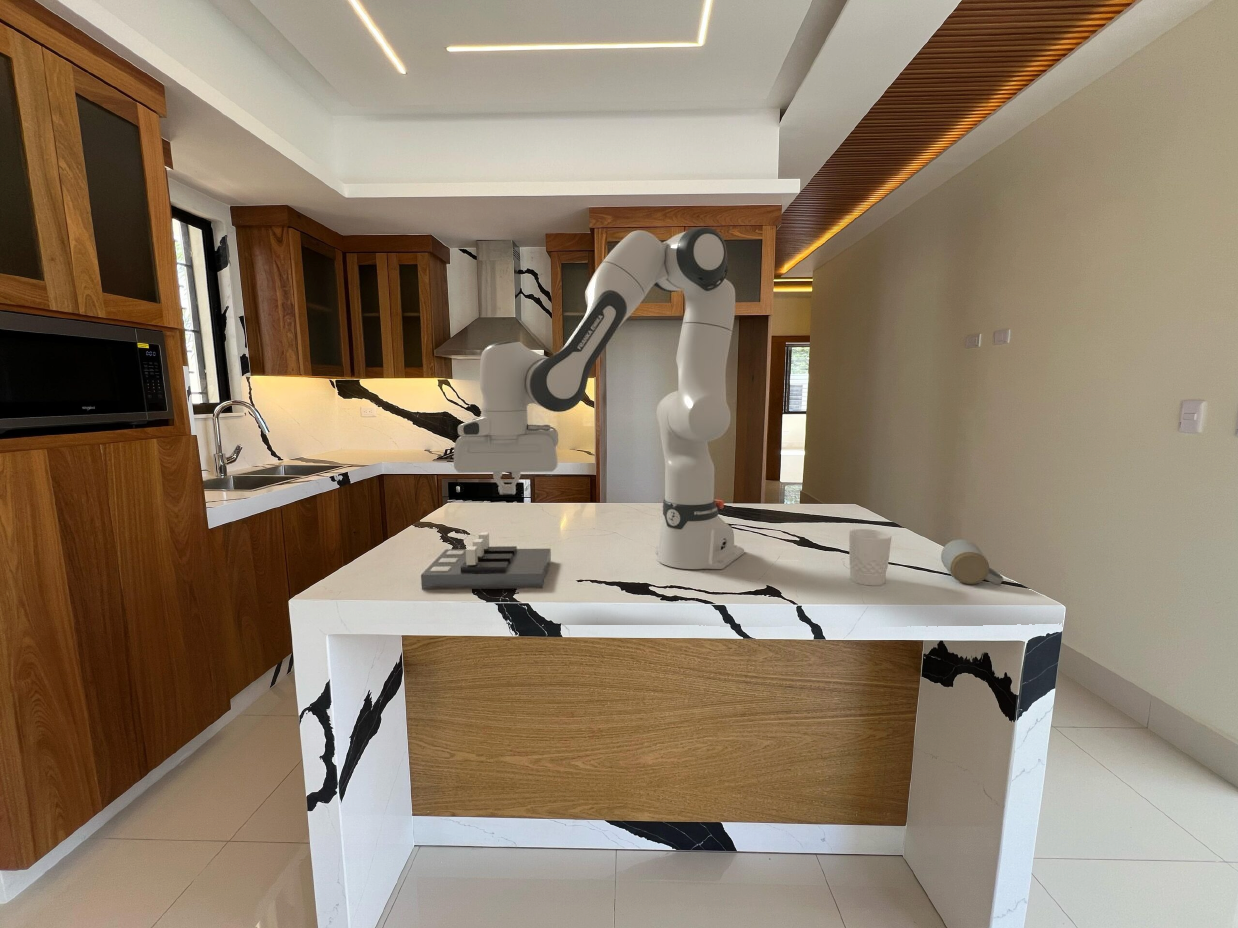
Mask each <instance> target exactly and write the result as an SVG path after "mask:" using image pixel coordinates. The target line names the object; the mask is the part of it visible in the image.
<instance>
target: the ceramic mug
mask: <svg viewBox="0 0 1238 928" xmlns="http://www.w3.org/2000/svg"><path fill="white" fill-rule="evenodd" d="M940 559H941V563H942V564H943V566H944V568H945V570H946V571H947V572H949V574H950V576H952V577H953V579H954V580H956V581H957V582H960V583H962V584H965V585H976V584H979V583H981V582H983V581H984V580H985V581H987V582H990V583H992V584H995V585H997V586H999V585H1001V583H1002V582H1003V581H1004V576H1003V575H1001V573H999V572H997V571H996V570H994V569H993V568H991V567H990V564H989V561H988V559H987V557H986V556H985V555H984V554H983V551H981V549H980V548H979V547H978V545H976V543H973V542H972V541H970V540H966V539H954V540H951V541H949V542H947V543H946V544H945V546H943V548H942V551H941V553H940Z"/></svg>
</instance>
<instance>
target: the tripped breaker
mask: <svg viewBox="0 0 1238 928" xmlns="http://www.w3.org/2000/svg"><path fill="white" fill-rule="evenodd" d="M465 549H466V565H476V563H477V562H478V554H477V546H473V545H472V546H467V548H465Z"/></svg>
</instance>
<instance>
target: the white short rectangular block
mask: <svg viewBox="0 0 1238 928" xmlns="http://www.w3.org/2000/svg"><path fill="white" fill-rule="evenodd" d="M478 539H483V542H484V549H487V548H488V547H490V532H489V531H487V532H486V531H484V532H483V531H481V532H480V533H479V534H478Z"/></svg>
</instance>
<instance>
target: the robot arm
mask: <svg viewBox="0 0 1238 928" xmlns="http://www.w3.org/2000/svg"><path fill="white" fill-rule="evenodd" d="M728 271H729V268H728V251H727V245H726V243H725V240H724V238H723V236H722V235H721V234H720V232H718V231H717V230H716V229H714V228H711V227H703V226H700V227H699V226H698V227H692V228H690V229H689V230H686V231H682V232H680V233H678V234H676V235H673V236H672V237H671V238H669V239H668V240H665V241H663V242H662V241H660V240H659V239H658V237H656V236H655V235H654V234H653V233H651V232H649V231H646V230H639V229H638V230H634V231H631V232H630V233H628V234H627V235H626V236H625V237H623V238H622V239H621V240H620V241H619V242H618V244H616V245H615V247H614V248H612V249H611V250H610V252H609V253H608V255H607V256H606V257H605V258H604V259H603V261H601V263H600V265H599V266H598V268H597V269H596V270H595V272H594V273H593V275H592V277H591V279H590V280H589V282H588V285H587V287H586V289H585V291H584V292H585V293H584V297H585V298H584V299H585V303H586V306H587V309H586V312H585V315H584V317H583V318H582V319H581V321H580V323H579V324H578V325H577V327H576V328H575V330H574V331H573V333H572V335H571V336H570V337H569V338H568V340H567V341H566V343H564V344H565V345H563V347H562V348H561V349H560V350H558V352H556V353H554V354H553V355H551V356H549V357H547V356H544V355H543V354H539V353H537V352H535V351H533V350H532V349H530V348H528V347H527V346H525V345H524V344H522V342H521V341H518V340H506V341H501V342H496V343H492V344H490V345H489V344H488V346H486V347H485V348H484V350H482V352H481V356H480V362H479V363H480V366H479V382H480V383H479V386H480V391H481V394H482V404H481V417H477V418H473V419H472V420H469V421H467V422H464V423H461V424H459V425H458V426H457V434H458V436H459V437H458V438H457V439H456V441H455V442H454V443H455V444H454V448H453V468H454V470H456V472H457V473H459V474H461V473H462V474H463V473H467V474H468V473H470V474H471V473H492V475H493V476H492V479H493V480H494V481H495V483H496V484H497V486H498V488H499V489H498V490H499V495H515V494H516V493H517V492H516V491H517V490H516V489H517V488H516V485H517V483H518V481H519V480H520V478H521V473H540V472H542V473H544V472H545V473H546V472H548V473H549V472H554V471H555V470H556V469H557V467H558V452H557V445H558V444H559V432H558V430H557V429H556V428H555V427H553V426H551V425H550V424H529V423H528V421H529V419H528V406H529V404H531V405H532V404H535V405H536V406H539V407H542V408H543V409H545V410H547V411H550V412H553V413H555V412H556V413H562V412H563V413H564V412H567V411H569V410H571V409H574V408H575V407H576V406H577V405H578V404H579V403H580V402H581V400H582V399H583V397H584V395H585V393H586V389H587V386H588V380H589V377H590V373H591V370H592V368H593V366H594V365H595V363H596V362H597V360H598V359H599V356H600V355H601V354H602V352H603V351H604V349H605V348H606V346H607V345H608V343H609V342H610V340H611V339H612V337H613V336H614V334H615V332H616V331H617V330H618V328H620V326H622V324H623V323H624V322H625V321H626V320H627V319H628V318H629V317H630V316H631V315H632V314H633V313H634V311H636V309H637V308H638V306H640V304H641V303H642V301H643V300H644V299H645V297H646V296H647V294H648V293H649V292H650V290H651V288H652V287H655V288H656V289H658V290H660V291H663V292H666V293H667V292H668V293H675V292H676V293H677V292H679V291H682V293H683V296H684V300H685V301H684V302H685V311H684V315H683V318H682V319H683V320H682V325H681V329H680V330H681V331H680V335H679V340H678V346H677V350H676V351H677V353H676V356H675V357H676V358H675V360H676V361H675V362H676V366H677V373H678V374H677V375H678V376H677V377H678V379H677V381H678V382H677V383H678V386H677V387H678V390H676V391H672V392H671V393H668V394H667V395H665V396H664V397H663V398H662V399H661V400H660V402H659V403H658V404H657V408H656V412H655V413H656V414H655V415H656V420H657V422H658V423H657V424H658V426H659V431H660V441H661V447H662V451H663V452H662V453H663V458H664V469H665V472H664V473H665V474H664V476H665V477H664V483H665V484H664V495H665V496H664V499H663V500H662V515H663V516H664V517H663V519H661V521H660V529H659V539H658V546H657V547H655V553H656V555H657V557H656V558H657V560H658V562H659V563H660V564H662V565H665V566H667V567H671V568H677V569H683V570H702V569H703V570H705V569H709V570H710V569H711V570H722V569H724V568H725V567H727V566H728V565H730V564H732V563H733V562H734V561H735V560H736V559H738V558H740V557H741V556H742V555H744V554H745V548H743V547H741V546H739V545H737V544H735V533H734V529H733V528H732V527H731V526H730V525H729V524H728V523H727V522H725V520H724V519H722V518H721V517H720V516H719V511H718V509H723V508H724V506H725V501H724V500H723V499H718V498H717V499H714V495H715V466H714V465H715V464H714V462H713V460H712V457H711V454H710V451H709V445H708V442H712V441H715V440H717V439H719V438H721V437H722V436H723V435H724V434H726V431H728V429H729V427H730V424H731V410H730V407H729V405H728V402H727V387H726V386H727V385H726V373H727V372H726V369H727V362H728V356H729V349H730V344H731V339H732V335H733V331H734V330H733V329H734V328H733V327H734V322H735V312H736V290H735V287H734V284H732V283H731V281H729V280H727V279H726V277H727V275H728ZM503 473H511V477H512V478H514V479H513V481H512V482H511V483H508V484H507V483H506V484H505V483H504V481H503V480H502V478H501V477H502V476H503Z"/></svg>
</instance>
